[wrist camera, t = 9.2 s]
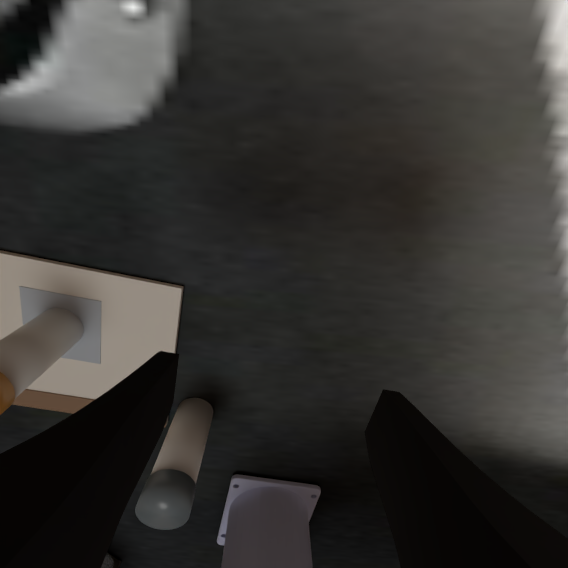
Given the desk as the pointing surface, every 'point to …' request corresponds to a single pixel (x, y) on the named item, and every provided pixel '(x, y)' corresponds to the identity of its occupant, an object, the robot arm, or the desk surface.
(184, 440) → the dark cap marker
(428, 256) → the desk surface
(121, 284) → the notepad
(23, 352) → the orange cap marker
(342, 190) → the desk surface
